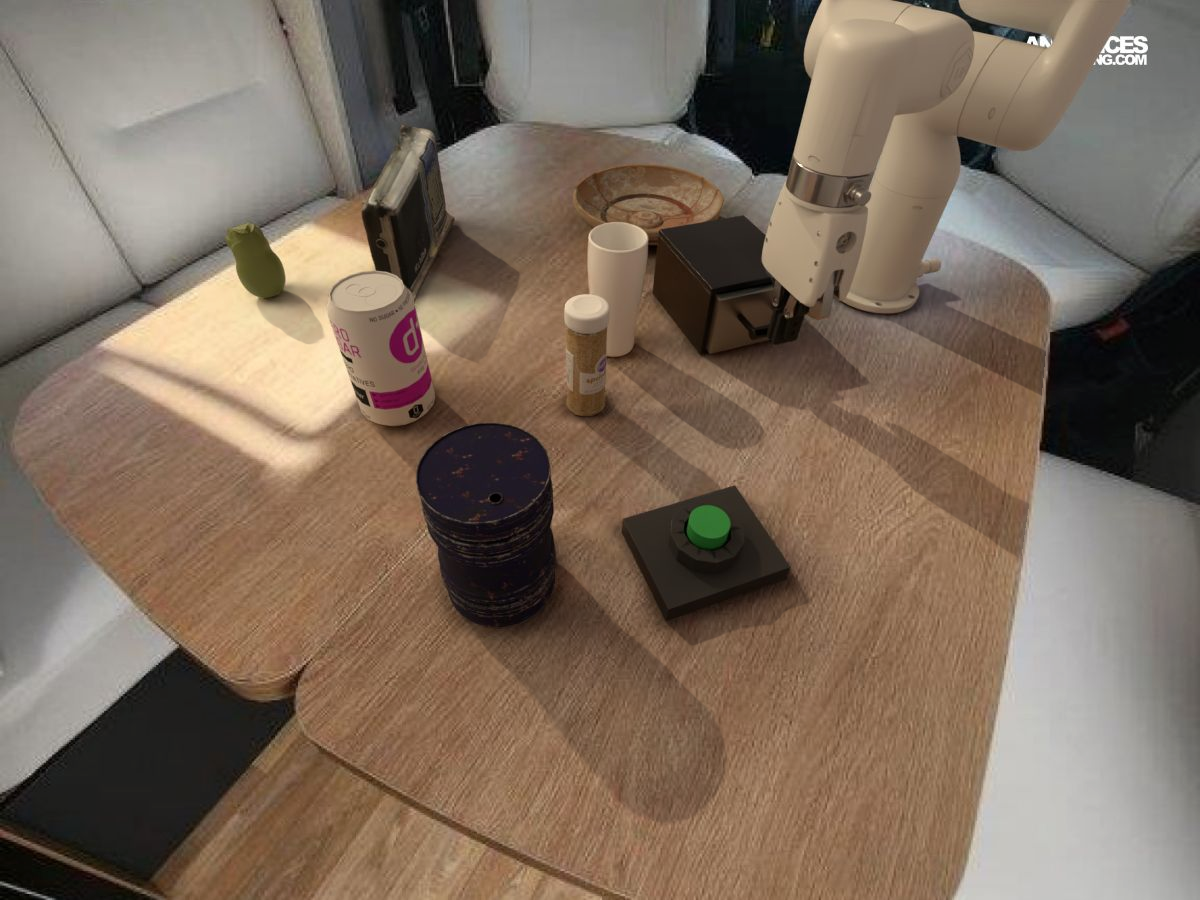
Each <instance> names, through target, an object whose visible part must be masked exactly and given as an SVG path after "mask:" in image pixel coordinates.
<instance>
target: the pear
mask: <svg viewBox="0 0 1200 900" xmlns="http://www.w3.org/2000/svg"><path fill="white" fill-rule="evenodd" d="M225 243H226V245H227V247H229V249H230V250H231V252H232V255H233V257H234V260H235V271H236V275H237V277H238V279H239V281H240V283H241V285H242V286H243V288H244V289H245V290H246V291H247V292H249V293H250V294H251V295H253V296H254V297H258V298H260V299H261V298H263V299H266V298H272V297H275V296H277V295H279V294H280V293H281V292H283V290H284V288H285V286H286V279H287V278H286V272H285V268H284V264H283V263H282V261H281V259H280V258H279V255H277V254H276V253H275V252H274V251H273V249H272V247H271V245H270V242H269V241H268V239H267V237H266V236H265V234H264V232H263V230H262V229H261V228H260V227H258V226H256V225H255V223H253V222H252V221H251V222H249V221H248V222H245V223H243V224H239V225H235V226H232V227H228V228H227V229H226V237H225Z"/></svg>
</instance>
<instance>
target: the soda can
mask: <svg viewBox="0 0 1200 900" xmlns="http://www.w3.org/2000/svg"><path fill="white" fill-rule="evenodd" d="M326 312H327V318H328V320H329V324H330V327H331V330H332V332H333V334H334V338H335V340H336V343H337V346H338V349H339V352H340V354H341V357H342V360H343V363H344V366H345V368H346V372H347V374H348V377H349V381H350V383H351V386H352V388H353V391H354V394H355V397H356V400H357V403H358V405H359V406H358V407H359V408H360V411H361V413H362V414H363V416H364V418H366V419H367V420H368V421H371V422H373V423H375V424H377V425H382V426H388V427H398V426H405V425H408V424H411V423H414V422H417V420H419V419H421V418H422V417H424V416H425V414H427V413H428V412H429V410H430V409H432V407H433V406H434V403H435V399H436V392H435V388H434V384H433V379H432V375H431V370H430V366H429V361H428V357H427V352H426V347H425V344H424V343H425V342H424V339H423V335H422V330H421V326H420V321H419V315H418V313H417V308H416V304H415V299H413V296H412V293H411V291H410V290H409V289H408V288H407V287H406V286H405V285H404V284H403V282H402V280H401V279H400V278H398V277H397V276H396V275H394V274H391V273H388V272H382V271H376V270H366V271H360V272H355V273H352V274H349V275H347V276H345V277H343V278H341V279H339V280H338V281H337V282H335V283H334V284H333V285H332V286H331V288H330V290H329V292H328V301H327V305H326Z"/></svg>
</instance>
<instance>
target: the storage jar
mask: <svg viewBox="0 0 1200 900" xmlns="http://www.w3.org/2000/svg"><path fill="white" fill-rule="evenodd" d="M550 460H551V459H550V456H549V454H548V451H547V449H546V448H545V446H544V444H543V443H542V442H541V441H540V440H539V439H538V438H537V437H536V436H535V435H533V434H531V433H530V432H529V431H527V430H525V429H523V428H521V427H518V426H515V425H512V424H508V423H503V422H487V421H486V422H476V423H472V424H467V425H464V426H461V427H457V428H454V429H453V430H450V431H449V432H447V433H444V434H443V435H442V436H440V437H438V438H437V439H436V440H435V441H433V442H432V444H430V445H429V446H428V447H427V448H426V450H425V451H424V453H423V454H422V456H421V457H420V459H419V461H418V464H417V468H416V471H415V483H416V484H415V485H416V489H417V492H418V496H419V499H420V504H421V510H422V514H423V518H424V521H425V523H426V528H427V531H428V534H429V536H430V538H432V541H433V542H434V544H435V545H436V546H437V559H438V563H439V569H440V575H441V579H442V582H443V584H444V587H445V589H446V591H447V594H448V597H449V600H450V601H451V604H452V607H454V609H455V611H456V612H457V613H458V614H459V615H460V616H461V617H462V618H464V619H465V620H466V621H468V622H469V623H472V624H474V625H477V626H479V627H484V628H490V629H504V628H509V627H510V628H511V627H514V626H518V625H521V624H523V623H525V622H527V621H528V620H530V619H532V618H534V617H535V616H536V615H537V614H538V613H540V612H541V611H542V610H543V609H544V607H545V606H546V605H547V604H548V602H549V600H550V599H551V597H552V595H553V593H554V590H555V586H556V579H557V578H556V576H557V573H556V568H557V551H556V544H555V538H554V537H555V536H554V533H553V530H552V528H551V526H552V521H553V517H554V510H555V504H554V487H553V480H552V469H551V468H552V467H551V461H550Z"/></svg>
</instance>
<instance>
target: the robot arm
mask: <svg viewBox="0 0 1200 900" xmlns="http://www.w3.org/2000/svg"><path fill="white" fill-rule="evenodd" d="M1131 2H1132V0H958V4H959V7H960V9H961V10H962V12H963V13H964V14H965V15H967V16H969V17H970V18H972V19H975V20H978V21H981V22H984V23H988V24H992V25H997V26H1001V27H1005V28H1010V29H1016V30H1020V31H1023V32H1024V31H1025V32H1030V33H1034V34H1039V35H1043V36H1047V37H1048V38H1050V40H1051V44H1050V45H1049V46H1048V47H1047V46H1043V45H1039V44H1038V45H1037V44H1032V43H1029V42H1023V41H1020V40H1014V39H1009V38H1008V37H1005V36H1004V37H1003V36H999V35H993V34H988V33H986V32H985V33H984V32H980V31H974V30H973V29H972V27H971V26H970V24H969V23H968V22H967V20H965V19H963V18H962V17H960V16H958V15H956V14H955V13H950V12H947V11H942V10H937V9H933V8H929V7H928V8H927V7H924V6H918V5H915V4H913V3H912V4H911V3H907V2H902V1H897V0H821V2H820V4H819V6H818V8H817V10H816V13H815V15H814V16H813V17H814V18H813V20H812V23H811V25H810V26H809V30H808V33H807V36H806V39H805V45H804V50H803V63H804V69H805V72H806V73H807V75H808V77H809V78H810V85H809V88H808V93H807V97H806V101H805V105H804V109H803V114H802V117H801V122H800V126H799V128H798V134H797V137H796V141H795V146H794V150H793V153H792V156H791V160H790V165H789V169H788V172H787V177H786V180H785V181H784V183H783V185H782V187H781V189H780V192H779V195H778V197H777V199H776V203H775V206H774V208H773V210H772V212H771V213H772V214H771V217H770V220H769V223H768V227H767V230H766V232H765V233H766V234H765V235H766V237H765V241H764V246H763V251H762V263H763V265H764V267H765V270H766V272H767V274H768V275H769V277H770V278H771V280H772V284H773V289H774V290H773V296H772V304H773V306H775V308H774V309H773V313H772V317H771V320H770V324H769V328H768V331H767V335H766V336H767V337H768V339H770V340H769V341H770V342H771V343H772V345H774V346H778V345H781V344H786V343H790V342H794V341H796V340H797V339H798V337H799V334H800V332H801V329H802V326H803V322H804V319H805V315H806V316H808V317H810V318H812V319H814V320H815V321H822V320H825V319H829V318H830V317H831V311H832V305H833V299H834V300H836V301H840V302H842V303H844V304H846V305H848V306H849V307H852V308H854V309H857V310H861V311H864V312H867V313H868V312H869V313H873V314H883V315H884V314H885V315H887V314H898V313H902V312H904V311H907V310H909V309H911V308H913V306H915V304H916V302H917V301H918V298H919V296H920V288H919V286H918V284H917V281H918V279H920V278H921V277H923V276H924V275H929V274H933V273H937V272H939V271H940V270H941V268H942V262H941V260H940V259H939V258H937V257H933V258H930V259H925V260H923V259H924V256H925V255H926V253H927V250H928V248H929V245H930V243H931V241H932V239H933V236H934V234H935V232H936V230H937V227H938V225H939V223H940V221H941V219H942V216H943V214H944V211H945V209H946V207H947V205H948V202H949V200H950V198H951V196H952V194H953V192H954V189H955V187H956V186H957V185H956V184H957V183H958V180H959V176H960V174H961V173H960V172H961V165H962V160H961V151H960V145H959V141H958V138H960V137H961V138H964V139H966V140H967V139H968V140H971V141H975V142H978V143H981V144H985V145H988V146H992V147H995V148H1000V149H1003V150H1008V151H1013V152H1028V151H1031V150H1033V149H1035V148H1038V146H1040V145H1041V144H1043V143H1044V142H1045V141H1046V140H1047V139H1048V138H1049V136H1050V135H1051V134H1052V133H1053V131H1054V130H1055V129H1056V127H1058V124H1059V123H1060V121H1061V120H1062V118H1063V117H1064V115H1065V113H1066V112H1067V110H1068V108H1069V107H1070V105H1071V104H1072V102H1073V101H1074V99H1075V97H1076V96H1077V93H1078V92H1079V90H1080V89H1081V87H1082V85H1083V83H1084V81H1085V80H1086V79H1087V77H1088V75H1089V74H1090V72H1091V70H1092V69H1093V66H1094V65H1095V63H1096V61H1097V60H1098V58H1099V56H1100V54H1101V53H1102V51H1103V49H1104V48H1105V46H1106V44H1107V42H1108V41H1109V39H1110V37H1111V36H1112V34H1113V33H1114V31H1115V29H1116V28H1117V26H1118V24H1119V23H1120V21H1121V19H1122V18H1123V16H1124V14H1125V12H1126V10H1127V9H1128V7H1129V5H1130V4H1131Z"/></svg>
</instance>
